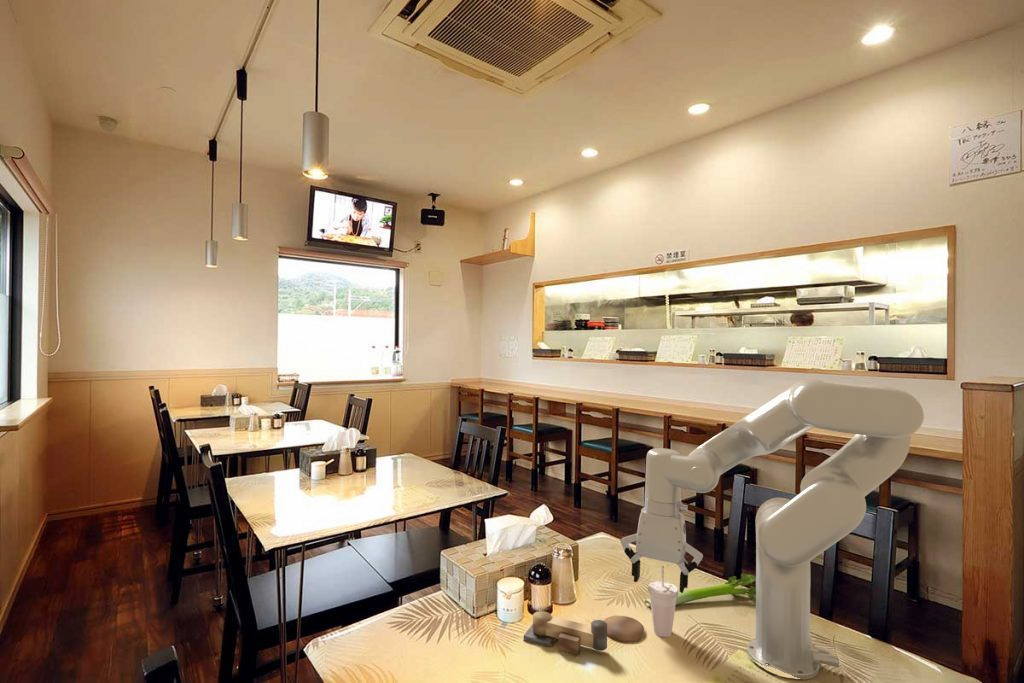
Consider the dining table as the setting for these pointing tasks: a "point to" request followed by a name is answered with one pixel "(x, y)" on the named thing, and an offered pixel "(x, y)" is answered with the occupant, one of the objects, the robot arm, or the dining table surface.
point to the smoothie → (662, 605)
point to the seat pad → (624, 628)
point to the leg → (571, 629)
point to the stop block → (569, 644)
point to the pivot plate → (538, 638)
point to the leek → (717, 590)
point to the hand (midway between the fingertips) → (659, 584)
